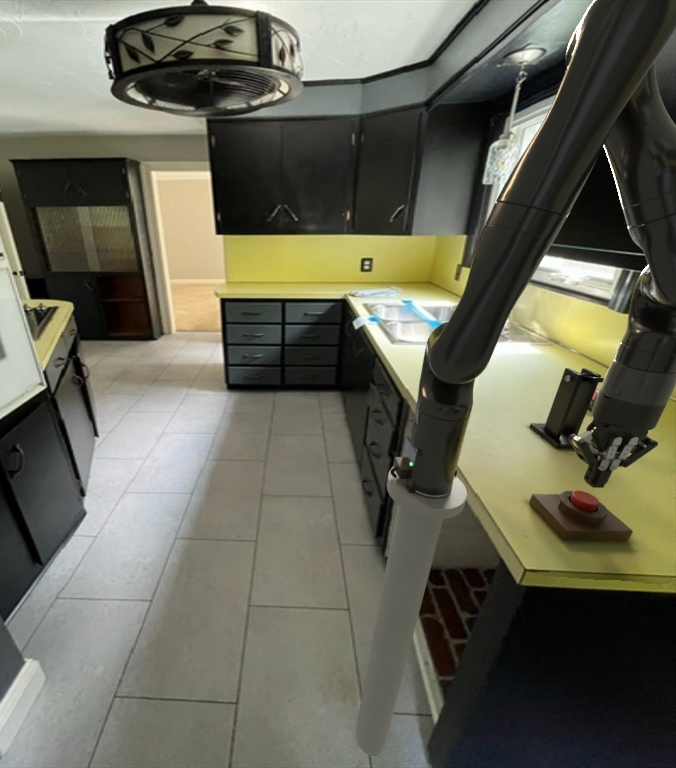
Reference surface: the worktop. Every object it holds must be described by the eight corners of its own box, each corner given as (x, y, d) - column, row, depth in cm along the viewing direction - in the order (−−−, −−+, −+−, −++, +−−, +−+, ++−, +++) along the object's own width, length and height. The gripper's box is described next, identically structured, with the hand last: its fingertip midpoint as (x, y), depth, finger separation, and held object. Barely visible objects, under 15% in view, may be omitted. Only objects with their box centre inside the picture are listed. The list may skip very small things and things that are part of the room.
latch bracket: (589, 448, 86) (619, 380, 79) (556, 448, 86) (582, 379, 79) (559, 427, 95) (583, 364, 88) (529, 427, 95) (550, 363, 88)
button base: (563, 540, 61) (571, 522, 59) (528, 502, 69) (535, 486, 67) (628, 540, 61) (638, 522, 59) (586, 503, 69) (593, 486, 68)
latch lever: (638, 390, 73) (639, 372, 72) (620, 390, 73) (621, 372, 72) (582, 386, 86) (583, 370, 85) (567, 385, 86) (568, 370, 85)
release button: (580, 512, 62) (583, 504, 61) (564, 497, 65) (567, 490, 64) (601, 512, 62) (604, 504, 61) (584, 498, 65) (588, 490, 64)
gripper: (653, 382, 58) (612, 470, 65) (571, 383, 58) (539, 471, 65) (704, 403, 51) (653, 499, 58) (610, 404, 51) (570, 500, 58)
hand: (593, 484), depth 62 cm, fingers closed
